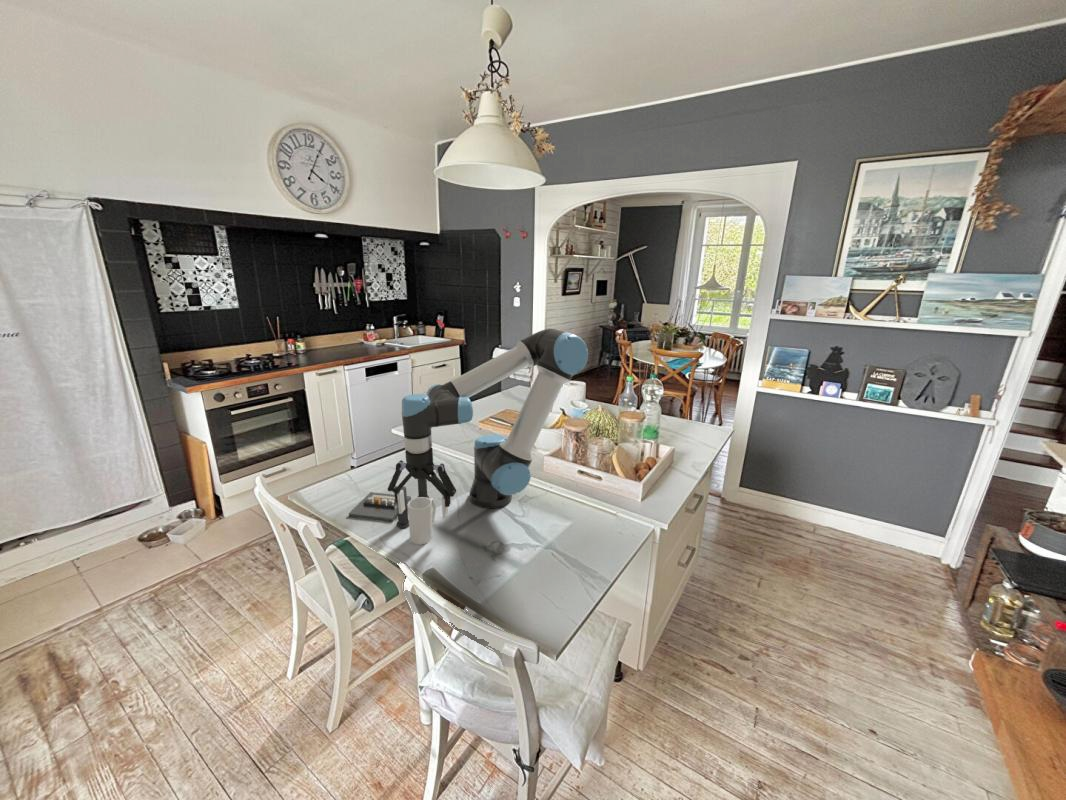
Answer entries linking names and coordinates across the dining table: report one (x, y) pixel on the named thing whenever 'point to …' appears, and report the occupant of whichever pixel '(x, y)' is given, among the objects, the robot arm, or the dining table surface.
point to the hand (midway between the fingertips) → (423, 513)
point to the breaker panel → (377, 507)
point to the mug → (421, 519)
